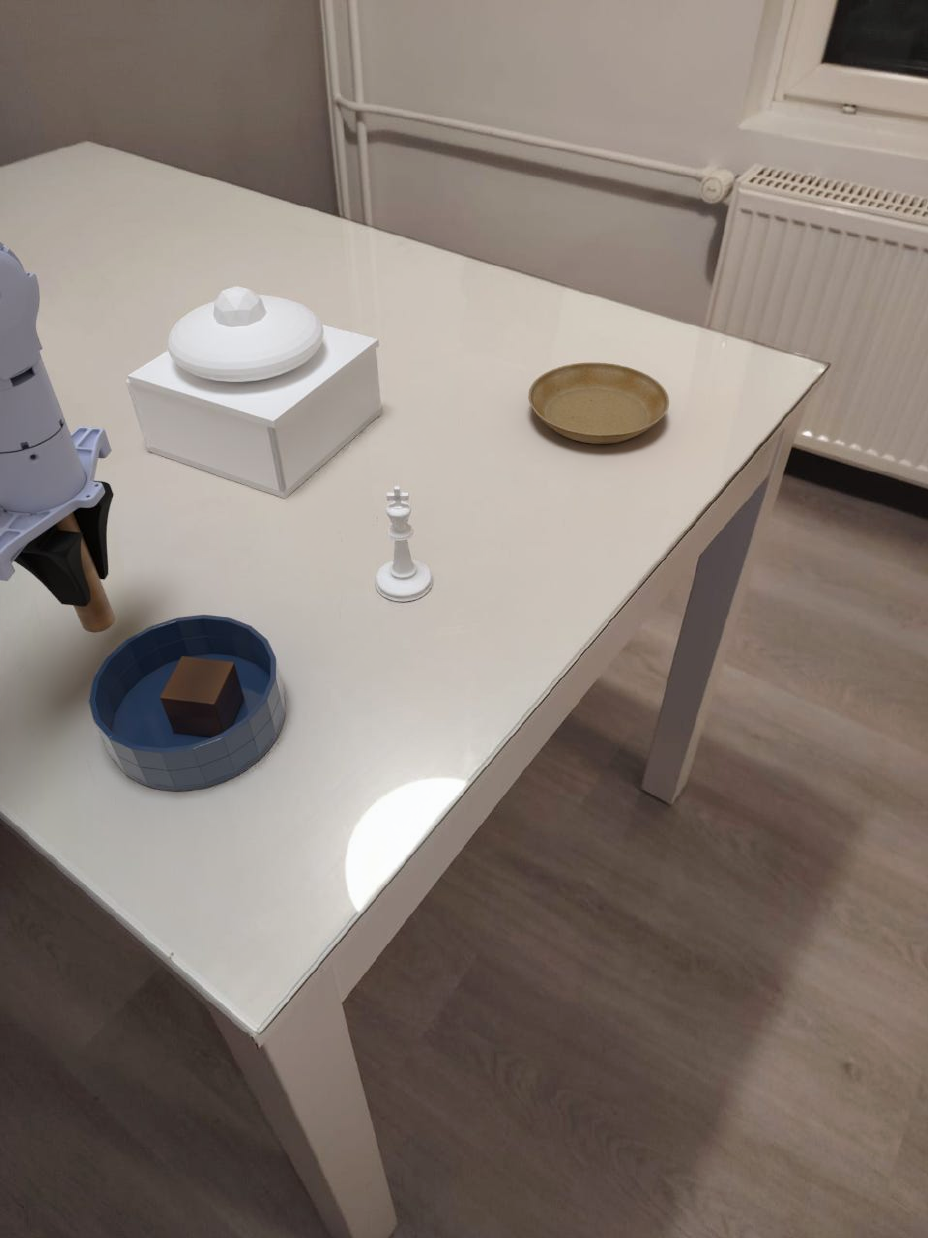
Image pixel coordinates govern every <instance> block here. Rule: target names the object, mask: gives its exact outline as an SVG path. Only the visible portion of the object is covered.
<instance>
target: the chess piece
mask: <svg viewBox="0 0 928 1238" xmlns="http://www.w3.org/2000/svg"><path fill="white" fill-rule="evenodd" d="M386 500H387V501H391V502H390V503H388V504H387V506H386V508H385V513H386V515H387V516H388V518H389V520H390V522H391V525H390V526H388V528H387V531H386V534H387V537H388V538H389V539H391V540H393V541H394V548H393V552H394V553H393V560H390V561H388V562H385V563H384V564H383V565H382V566H381V567H380V568H379V569H378V570H377V572H376V574H375V575H376V576H375V584H374V585H375V588H376V591H377V592H378V594H380V596H382V597H384V598H385V599H387V600H389V601H393V602H398V603H399V602H400V603H405V602H406V603H407V602H412V601H415V600H418V599H421V598H422V597H425V595H427V594H428V593H429V592H430V590H431V589H432V586H433V583H434V582H433V576H432V572H431V569H430V568H429V566H427V565H426V563H424V562H422V561H420V560H417V559H415V558H412V556H411V552H410V548H409V542H408V540H409V539H411V538H412V537H413V535H414V529H413V526H412V525H410V524H409V523H408V521H409V519H410V515H411V513H412V507H411V504H410V503H408V502H407V501H409V500H410V499H409V492H401V486H400V485H394V488H393V492H386Z"/></svg>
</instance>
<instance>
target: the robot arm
mask: <svg viewBox="0 0 928 1238" xmlns="http://www.w3.org/2000/svg"><path fill="white" fill-rule="evenodd" d="M40 302H41V292H40V286H39V281H38V278H37V275H36V273H30V272H29V271H26V270H25V267H24V266H23V264H22V262H21V261H20V259H19V258H18V257H17V255H16V253H14V252H13V250H11V249H10V248H8V247H5V246H4V243H2V242H0V581H4V582H8V581H9V580H10V579H11V578H12V577H13V575H14V574H15V572H16V570H15V568H14V565H13V563H14V562H15V563H16V564H17V565H20V566H21V567H22V568H24V569H25V570H26V571H28V572H29V573H30V574H31V575H33V576H34V577H35V578H36V579H37V580H38V581H39V582H40V583H42V585H43V586H44V587H45V588H46V589H47V590H48V591H49V592H50V593H51V594H52V595H53V597H55V598H56V600H57V601H58V602H59V603H60V604H61V605H65V606H73V607H74V606H82V607H85V606H87V605H88V603H89V602H90V601H91V596H90V589H89V586H88V582H87V579H86V576H85V573H84V570H83V566H82V559H81V541H82V536H83V538H84V541H85V543H86V546H87V548H88V551H89V553H90V555H91V558H92V560H93V563H94V565H95V568H96V570H97V573H98V575H99V578H100V580H103V581H104V580H105V581H106V579H107V578H108V576H109V557H108V556H109V555H108V522H109V521H108V520H109V513H110V509H111V504H112V501H113V498H114V496H115V493H114V491H113V489H112V486H111V484H110V483H109V482H106V481H103V480H102V481H101V480H95V476H96V471H97V467H98V460H99V459H106V458H107V457H108V456H109V455H110V454H111V453H112V451H113V449H112V446H111V444H110V441H109V438H108V435H107V431H106V429H105V428H100V427H89V426H78V427H77V428H76V429H75V430H74V431H73V432H72V433H71V431H70V429H69V426H68V423H67V422H66V421H67V420H66V419H65V418H66V417H65V416H64V413H63V410H62V407H61V405H60V403H59V400H58V397H57V395H56V391H55V389H54V386H53V384H52V381H51V378H50V376H49V374H48V370H47V368H46V365H45V362H44V360H43V358H42V355H41V351H42V350H43V345H42V343H41V340H40V338H39V335H38V332H37V318H38V314H39V310H40ZM72 512H73V513H74V516H75V518H76V521H77V523H78V526H79V528H80V531H81V532H73V531H63V530H59V528H58V525H56V523H57V522H59V521H60V520H62V519H63V518H65V517H66V516H67V515H69V514H70V513H72Z"/></svg>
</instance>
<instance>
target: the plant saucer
mask: <svg viewBox="0 0 928 1238" xmlns="http://www.w3.org/2000/svg"><path fill="white" fill-rule="evenodd" d="M527 397H528V398H527V399H528V402H529V405H530V406H531V408H532V410H533V412H534V413H535V415H537V417H538V418H539V420H541V421H542V422H543V423H544V424H546V426H548V427H549V428H550V429H551V430H553V431H554V432H556V433H557V434H558V435H561V436H563V437H565V438H566V439H570V440H572V441H576V442H579V443H584V444H585V443H586V444H592V445H595V444H596V445H608V444H609V445H610V444H616V443H620V442H624V441H628V440H630V439H633V438H635V437H637V436H639V435H640V434H642V433H644V432H646V431H647V430H649V429H650V428H652V427H653V426H654V425H655V424H657V423H658V422H659V421H660V420H661V419H662V418H663V417H664V416H665V415H666V413H667V412H668V410H669V407H670V398H669V394H668V392H667V390H666V389H665V387H664V386H663V385H662V384H661V383H660V382H659V381H658V380H657V379H655V378H653V377H652V376H650V375H649V374H646V373H644V372H642V371H640V370H637V369H635V368H631V367H629V366H625V365H620V364H615V363H607V362H579V363H570V364H565V365H562V366H559V367H556V368H553V369H551V370H549V371H547V372H545V373H543V374H541V375H540V376H538V377H537V378H536V379H535V380H534V381H533V383H532V384H531V386H530V387H529V390H528V395H527Z"/></svg>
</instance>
